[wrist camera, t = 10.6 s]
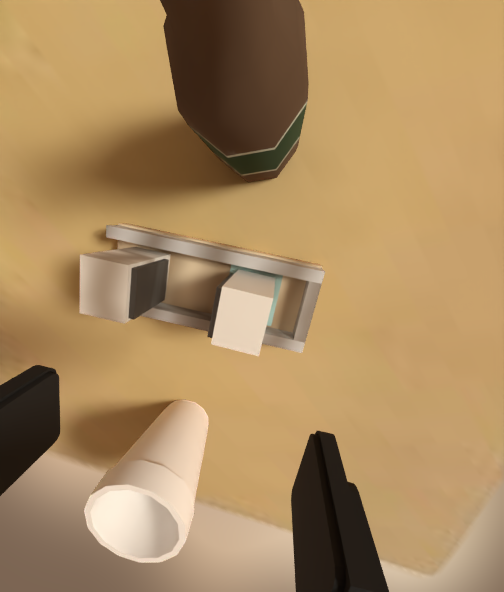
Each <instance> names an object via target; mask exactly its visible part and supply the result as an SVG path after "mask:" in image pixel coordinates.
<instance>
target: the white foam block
mask: <svg viewBox="0 0 504 592" xmlns="http://www.w3.org/2000/svg"><path fill="white" fill-rule="evenodd" d="M274 288H275V278H274V277H269V276H265V275H261V274H257V273H253V272H248V271H244V270H240V269H238V270H237V271H236V273H235V274H232V273H231V274H230V275H229V276H228V277H227V278H226V279H225V280H223V281H222V282H221V283H220V284H219V285H218V286H217V288H216V294H215V299H214V305H213V310H212V315H211V321H210V326H209V331H208V337H210V338H212V342H211V344H212V345H216V346H220V347H224V348H228V349H232V350H236V351H240V352H244V353H248V354H252V355H256V356H259V353H260V349H261V345H262V341H263V337H264V334H265V330H266V326H267V322H268V318H269V314H270V310H271V306H272V302H273V298H274Z"/></svg>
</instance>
